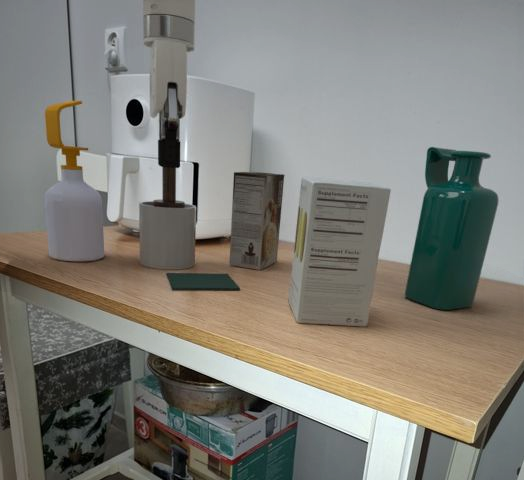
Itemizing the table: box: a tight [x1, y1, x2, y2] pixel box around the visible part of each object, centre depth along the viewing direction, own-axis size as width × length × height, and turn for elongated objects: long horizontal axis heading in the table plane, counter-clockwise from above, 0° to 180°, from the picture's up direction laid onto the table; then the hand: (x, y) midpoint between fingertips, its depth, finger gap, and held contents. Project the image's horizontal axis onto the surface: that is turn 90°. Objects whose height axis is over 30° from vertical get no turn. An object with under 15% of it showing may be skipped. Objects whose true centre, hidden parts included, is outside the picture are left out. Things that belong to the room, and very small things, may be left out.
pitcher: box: [404, 146, 499, 311], centre depth 72 cm, size 10×8×22 cm
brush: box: [152, 167, 186, 208], centre depth 80 cm, size 5×5×15 cm
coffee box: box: [228, 171, 285, 271], centre depth 88 cm, size 9×6×16 cm
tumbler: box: [138, 200, 197, 271], centre depth 84 cm, size 9×9×10 cm
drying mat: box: [166, 272, 241, 291], centre depth 75 cm, size 10×9×1 cm
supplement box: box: [288, 176, 392, 328], centre depth 62 cm, size 10×9×17 cm
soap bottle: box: [43, 100, 105, 263], centre depth 80 cm, size 9×9×25 cm
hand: (169, 165), depth 79 cm, fingers closed on brush
